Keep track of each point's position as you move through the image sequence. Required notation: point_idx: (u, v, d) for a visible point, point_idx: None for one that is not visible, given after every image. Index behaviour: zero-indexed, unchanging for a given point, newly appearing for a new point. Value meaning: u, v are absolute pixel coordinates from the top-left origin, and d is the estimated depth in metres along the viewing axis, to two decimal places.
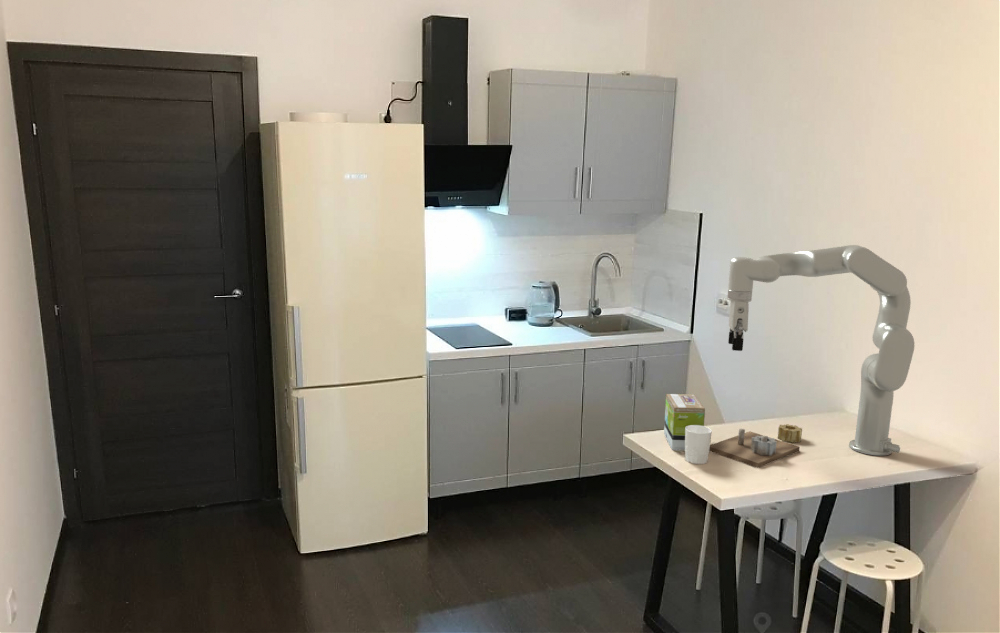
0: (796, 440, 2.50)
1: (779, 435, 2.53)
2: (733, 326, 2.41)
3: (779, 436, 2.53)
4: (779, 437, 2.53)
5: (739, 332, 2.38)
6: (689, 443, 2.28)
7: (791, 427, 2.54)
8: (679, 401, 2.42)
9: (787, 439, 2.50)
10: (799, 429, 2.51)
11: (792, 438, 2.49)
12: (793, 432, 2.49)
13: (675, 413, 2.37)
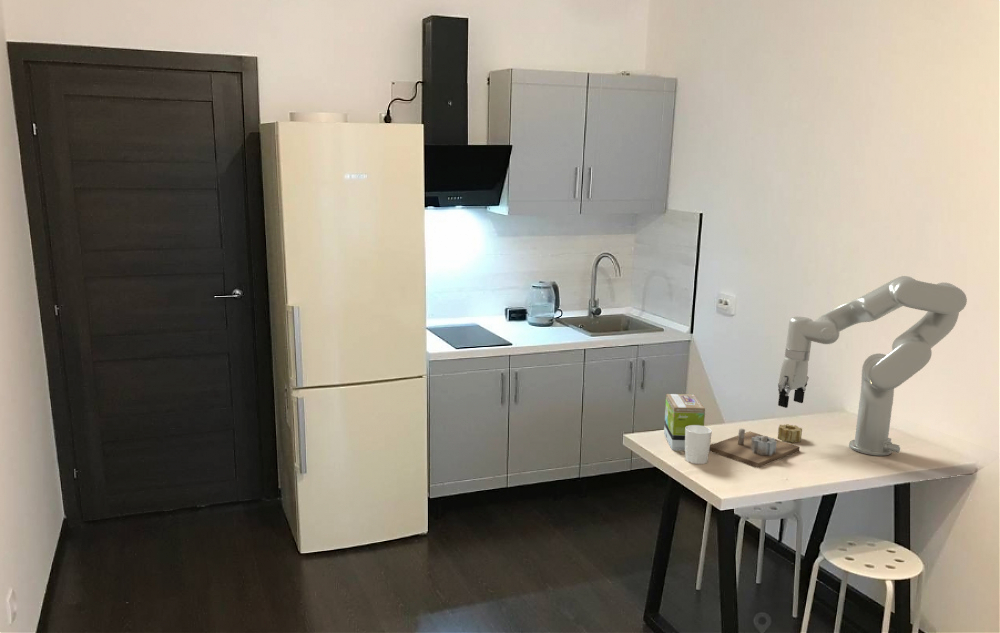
0: (796, 440, 2.50)
1: (779, 435, 2.53)
2: None
3: (779, 436, 2.53)
4: (779, 437, 2.53)
5: None
6: (689, 443, 2.28)
7: (791, 427, 2.54)
8: (679, 401, 2.42)
9: (787, 439, 2.50)
10: (799, 429, 2.51)
11: (792, 438, 2.49)
12: (793, 432, 2.49)
13: (675, 413, 2.37)
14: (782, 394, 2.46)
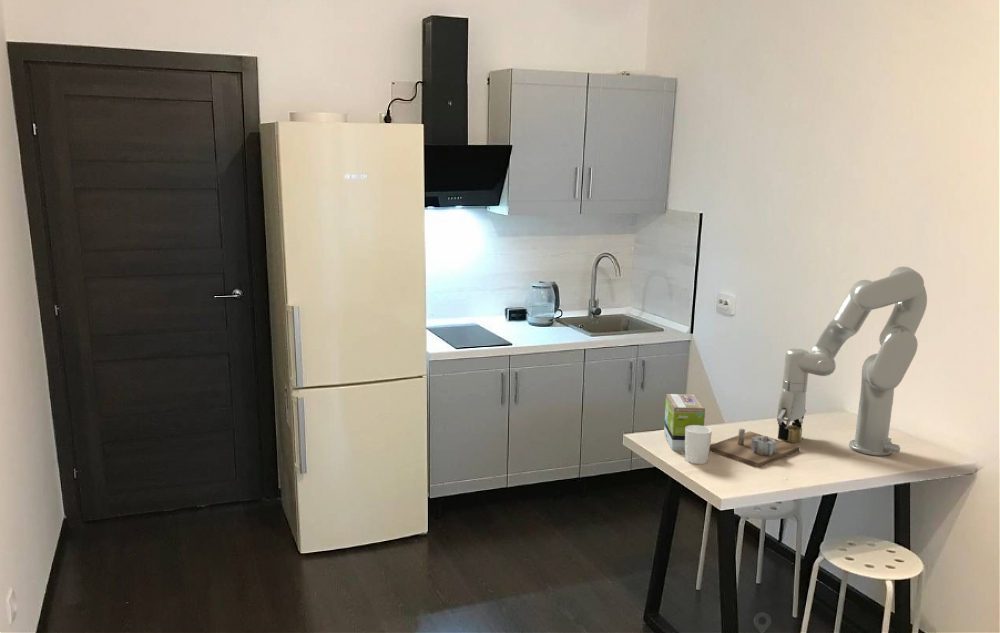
0: (796, 440, 2.50)
1: None
2: None
3: None
4: None
5: None
6: (689, 443, 2.28)
7: (791, 427, 2.54)
8: (679, 401, 2.42)
9: None
10: (799, 429, 2.51)
11: (792, 438, 2.49)
12: (793, 432, 2.49)
13: (675, 413, 2.37)
14: (782, 427, 2.49)
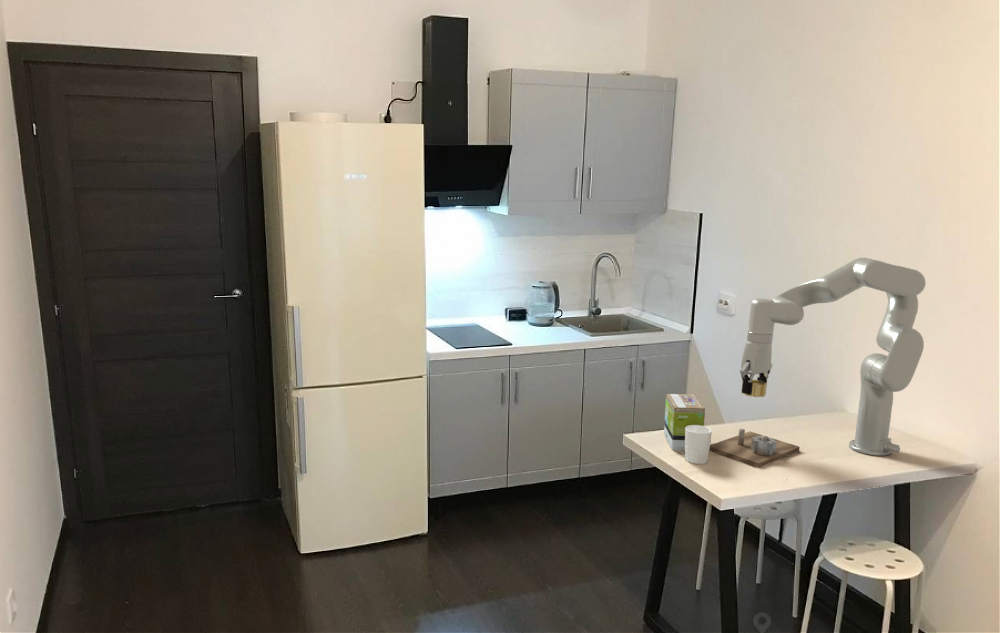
0: (760, 394, 2.38)
1: None
2: None
3: None
4: None
5: None
6: (689, 443, 2.28)
7: (756, 381, 2.42)
8: (679, 401, 2.42)
9: (751, 393, 2.39)
10: (763, 383, 2.39)
11: (756, 392, 2.37)
12: (757, 386, 2.37)
13: (675, 413, 2.37)
14: (745, 381, 2.37)
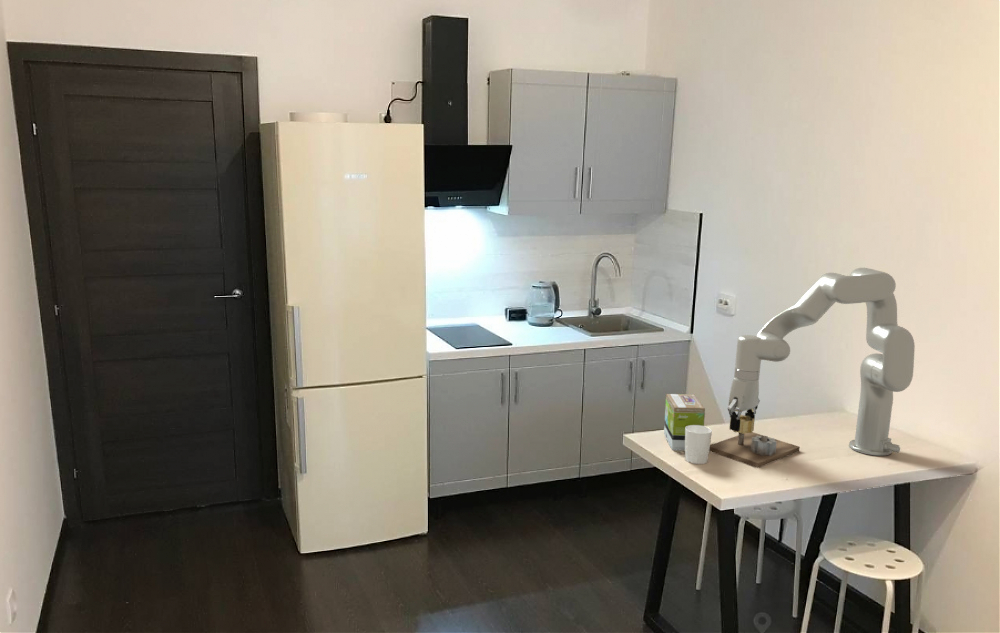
0: (748, 431, 2.38)
1: None
2: None
3: None
4: None
5: None
6: (689, 443, 2.28)
7: (743, 417, 2.42)
8: (679, 401, 2.42)
9: None
10: (751, 419, 2.39)
11: (743, 429, 2.37)
12: (744, 422, 2.37)
13: (675, 413, 2.37)
14: (733, 418, 2.37)
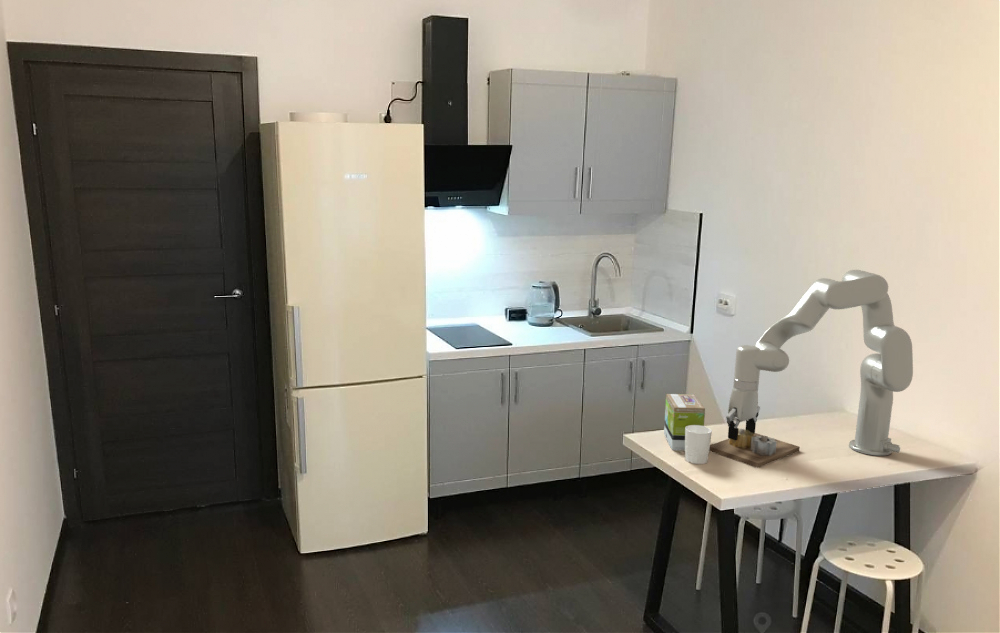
0: (747, 445, 2.39)
1: (730, 440, 2.42)
2: None
3: (730, 441, 2.42)
4: (730, 442, 2.42)
5: None
6: (689, 443, 2.28)
7: None
8: (679, 401, 2.42)
9: (738, 444, 2.40)
10: (750, 434, 2.40)
11: (743, 443, 2.38)
12: (744, 437, 2.38)
13: (675, 413, 2.37)
14: (731, 426, 2.37)
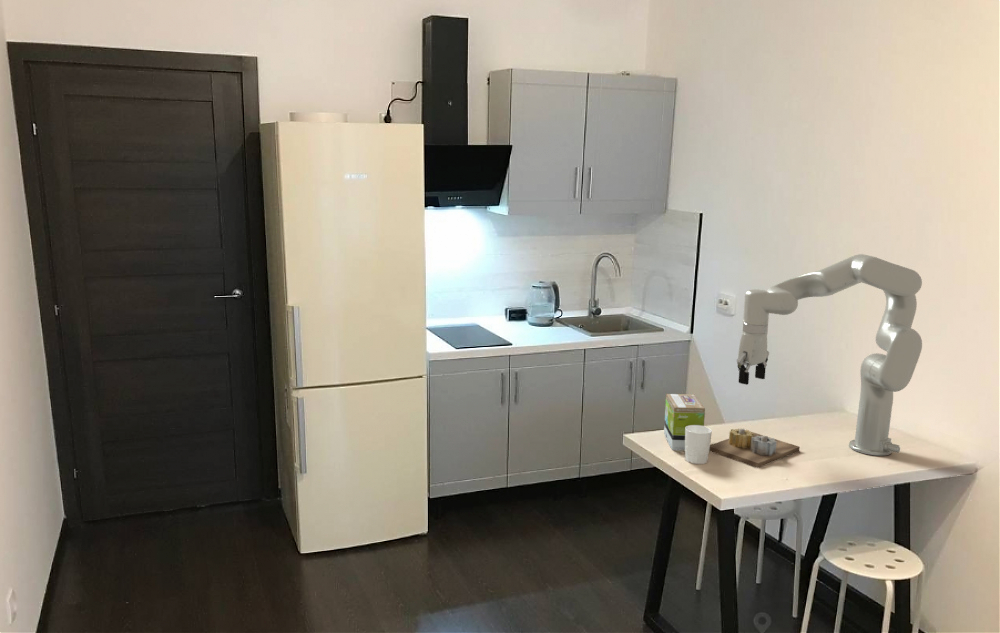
0: (747, 445, 2.39)
1: (730, 440, 2.42)
2: None
3: (730, 441, 2.42)
4: (730, 442, 2.42)
5: None
6: (689, 443, 2.28)
7: None
8: (679, 401, 2.42)
9: (738, 444, 2.40)
10: (750, 434, 2.40)
11: (743, 443, 2.38)
12: (744, 437, 2.38)
13: (675, 413, 2.37)
14: (742, 370, 2.37)
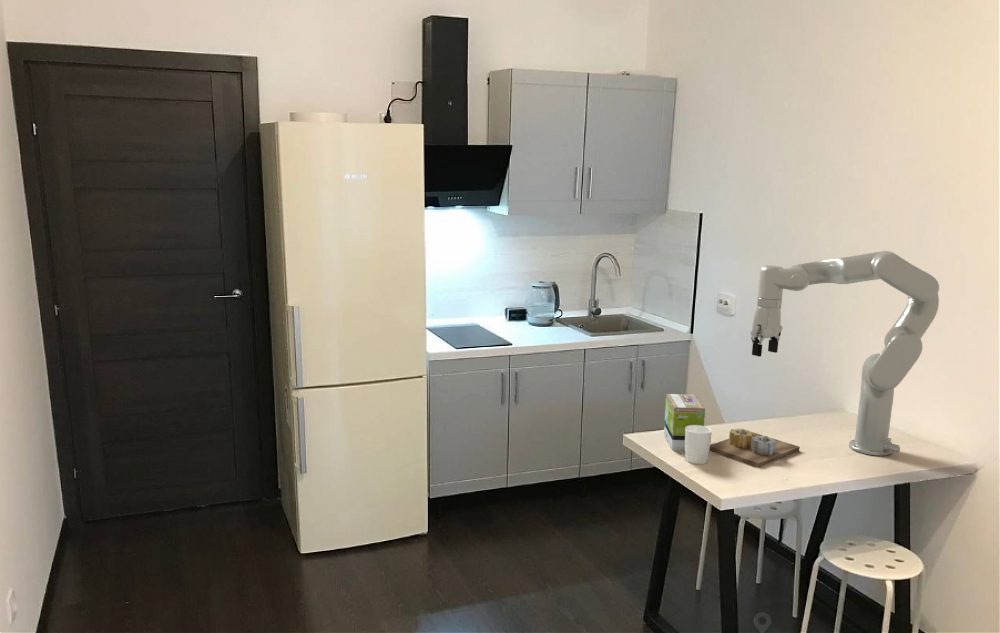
0: (747, 445, 2.39)
1: (730, 440, 2.42)
2: None
3: (730, 441, 2.42)
4: (730, 442, 2.42)
5: None
6: (689, 443, 2.28)
7: None
8: (679, 401, 2.42)
9: (738, 444, 2.40)
10: (750, 434, 2.40)
11: (743, 443, 2.38)
12: (744, 437, 2.38)
13: (675, 413, 2.37)
14: (755, 343, 2.47)
